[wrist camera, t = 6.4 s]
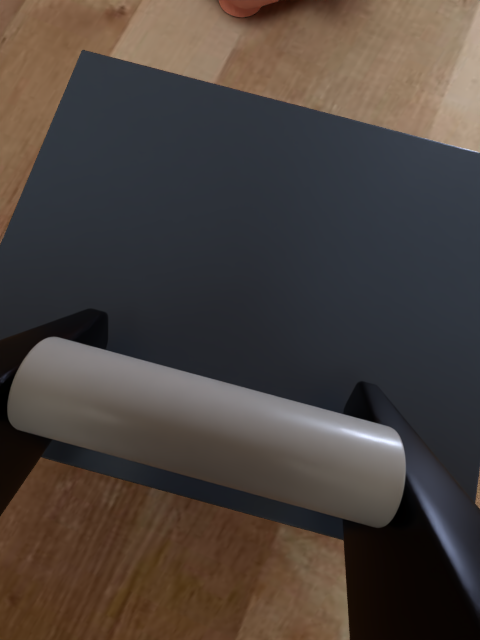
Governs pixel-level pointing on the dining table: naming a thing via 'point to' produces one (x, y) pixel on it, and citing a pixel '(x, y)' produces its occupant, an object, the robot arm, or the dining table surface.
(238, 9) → the teapot
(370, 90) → the dining table surface
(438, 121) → the dining table surface
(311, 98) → the dining table surface
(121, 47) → the dining table surface
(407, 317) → the lid
